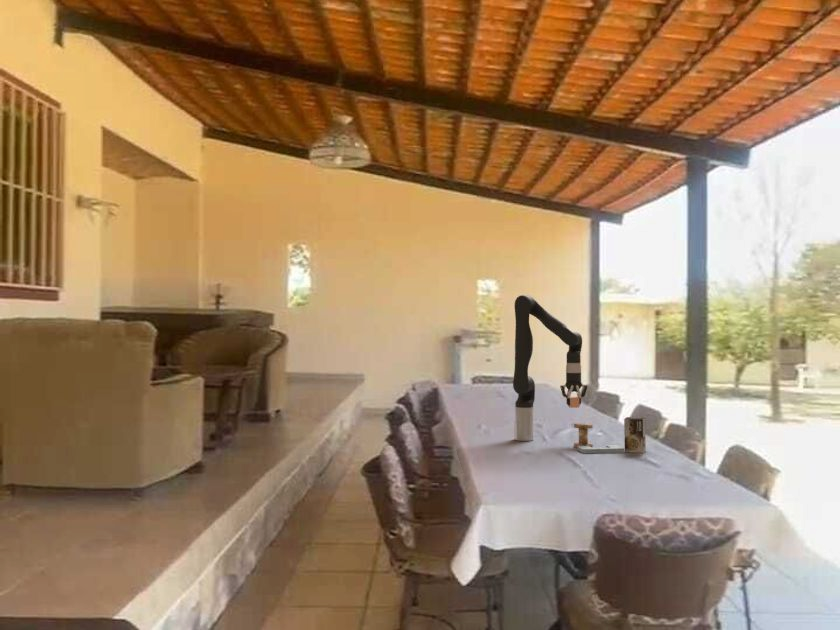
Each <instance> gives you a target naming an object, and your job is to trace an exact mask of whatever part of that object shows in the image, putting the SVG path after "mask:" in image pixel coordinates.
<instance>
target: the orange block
mask: <svg viewBox="0 0 840 630" xmlns="http://www.w3.org/2000/svg"><path fill="white" fill-rule="evenodd" d="M567 406H568V405H567ZM568 408H571V409H572V408H573V409H574V408H578V409H579V408H580V406H579V397H578V396H570V406H568Z"/></svg>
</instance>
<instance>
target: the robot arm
mask: <svg viewBox="0 0 840 630" xmlns="http://www.w3.org/2000/svg"><path fill="white" fill-rule="evenodd" d="M514 315H515V331H514V332H515V335H514V336H515V337H514V338H515V339H514V373H513V379H512V387H513V391H514V392H515V393H516V394H518V395H517V399H516V401H515V403H514V404H515V406H514V407H515V418H514V419H515V420H514V440H516V441H522V442H530V441H533V440H534V403H535V397H536V396H535V395H536V384H535V380H534V379H533V378H532V377H531V376H530V375H529V365H530V362H531V358H532V355H533V349H534V348H533V347H534V338H533V333H532V332H533V331H532V330H531V329H532V328H531V326H530V325H531V324H530V315H531V316H533V317H535V319H538V320H539V321H540V323H541V324H542V325H543V326H545V328H547V330H549V331H550V332H551V333H552V334H554V335H555V336H557V337H558V338H559V339H560V340H561V341H562V342H563V343H564V344H565V345H567V346H568V351H567V352H566V365H565V383H564V384H563V385H562V384H561V385H560V386H559V387H560V391H561V394H562V397H563V398H566V405H567V406H570V397H571V395H572V393H574V392H576V395H577V396H576V397H579V407H580V406H581V405H582V398H584V397H585V396H586V394H587V393H586V392H587V390H588V385H587V384H583V383H582V365H581V359H582V358H581V353H582V352H581V351H582V348H583V337H582V335H581V333H579V332H577V331H572V330H570V329H569V328H568V327H567V325H566V323H563V322H562V321H561V320H560V319H558V318H556V317H555V316H554V315H553V314H551V313H550V312H548V311H547V310H546V309H545V308H544V307H543V306H541V305H540V304H539V302H538V301H537V300H536V299H534V297H532V295H529V294H527V295H526V294H525V295H524V294H522V295H518V296H517V297H516V299H515V300H514ZM581 388H582V391H581V390H580V389H581ZM566 389H567V391H566Z"/></svg>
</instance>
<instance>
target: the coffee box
mask: <svg viewBox="0 0 840 630" xmlns="http://www.w3.org/2000/svg"><path fill="white" fill-rule="evenodd" d="M623 421H624V422H623V424H624V425H623V427H624V428H623V429H624V430H623V431H624V453H639V454H640V453H641V454H644V453H645V452H646V447H647V446H646V442H647V441H646V417H636V416H635V417H634V416H630V417H629V416H627V417H625V418H623Z"/></svg>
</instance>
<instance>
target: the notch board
mask: <svg viewBox="0 0 840 630" xmlns="http://www.w3.org/2000/svg"><path fill="white" fill-rule="evenodd" d="M605 446H606V447H590V446H577V447H576V449H577V451H578V452H580V453H582V454H615V453H616V454H617V453H619V454H620V453H622V452H624V453H625V447H622V446H621V445H618V444H606V445H605Z"/></svg>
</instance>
